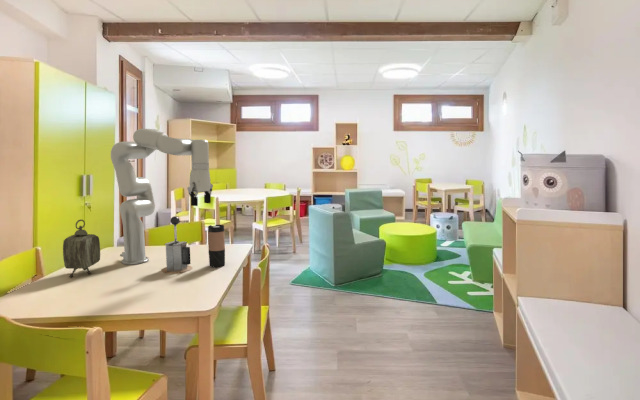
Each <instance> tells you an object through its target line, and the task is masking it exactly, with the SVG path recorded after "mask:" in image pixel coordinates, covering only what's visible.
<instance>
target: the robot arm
mask: <svg viewBox="0 0 640 400" xmlns="http://www.w3.org/2000/svg"><path fill="white" fill-rule="evenodd" d="M132 139H133V141H119V142H117V143H115V144H113V146H112V148H111V149H110V160H111V163H112V165H113V168H114V172H115V176H116V181H117V187H118V190H119V194H120V195H121V196H122V197H126V198H129V197H130V199H126V200H124V201H123V202H121V204H120V206H119V214H120V216H121V217H120V218H121V221H122V230H123V233H122V234H123V247H124V251H122V252H121V253H120V254H119V257H123V258H122V259H121V264H123V265H139V264H140V265H141V264H145V263H147V262H149V260H150V258H149V257H148V256H146V243H145V242H146V241H145V240H146V239H145V226H144V223H143V221H142V219H141V218H143V217H144V218H145V217H148V216H151V215H152V214H154V212H155V207H156V204H155V199H154V193H153V188H152V185H151V182H150V181H149V180H148V179H147V178H146V177H143V176H136V172H135V168H134V166H133V165H132V162H131V161H129V160H135V159H137V160H141V159H142V160H143V159H146V158H147V157H149V156H151V155H152V154H153V153H154V152H155V151H159V152H160V153H163V154H167V155H172V156H177V157H178V156H191V169H190V174H189V186H188V187H187V191H188V194H189V197H190V206H194V207H198V205H199V203H198V202H199V199H198V194H199V193H204V195H203V200H204V201H203V203H204V204H211V202H212V201H211V200H212V199H211V195H212V192H213V187H214V185H213V184H212V183H211V174H210V155H209V154H210V150H209V149H210V148H209V144H210V143H209V141H208V140H207V139H191V138H177V137H176V138H175V137H169V135H168V134H167V133H165V132H162V131H160V130H159V129H155V128H139V129H136V130H135V131H134V132H133V136H132ZM131 197H136V198H131Z"/></svg>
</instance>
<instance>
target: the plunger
mask: <svg viewBox="0 0 640 400" xmlns="http://www.w3.org/2000/svg"><path fill="white" fill-rule="evenodd" d="M180 222H181V221H180V217H178V216H176V215H175V216H172V217H171V218H170V224H171V225H173V230H174V231H173V233H174V241H175V244H176V243H177V241H178V236H177V235H178V234H177V233H178V232H177V231H178V230H177V225H178V224H180Z"/></svg>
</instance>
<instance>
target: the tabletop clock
mask: <svg viewBox="0 0 640 400" xmlns="http://www.w3.org/2000/svg"><path fill="white" fill-rule="evenodd" d="M80 222H83V225H79V226H78V223H80ZM85 225H86V221H85V220H84V219H78V220H77V221H76V222H75V228H76V229H77V230H76V231H75V232H74V234H72V235H70V236H67V237H66V238H65V239H63V243H62V258H63V264H64V267H65V269H71V270H72V269H73V270H72V272H71V273H70V274H69V275H68V276H69V278H73V277H74V274H75V272H76V271H77V270H79V269H82V270H83V271H86V274H88V275H90V274H91V273H92V271H91V270H90V269H89V268H90V267H92V266H94V265H95V264H97V263H98V262H100V260H101V243H100V238H99V236H97V235H96V234H90V233H89V234H88V232H87V231H86V230H85V229H84V228H85Z"/></svg>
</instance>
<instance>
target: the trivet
mask: <svg viewBox="0 0 640 400" xmlns="http://www.w3.org/2000/svg"><path fill="white" fill-rule="evenodd" d="M192 270H193V266H191V265H187V269H186V270H184V271H179V272H169V271H167V266H166V267H163V268H161V270H160V272H161V273H163V274H168V275H169V274H170V275H171V274H173V275H175V274H182V273H187V272H191V271H192Z"/></svg>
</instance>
